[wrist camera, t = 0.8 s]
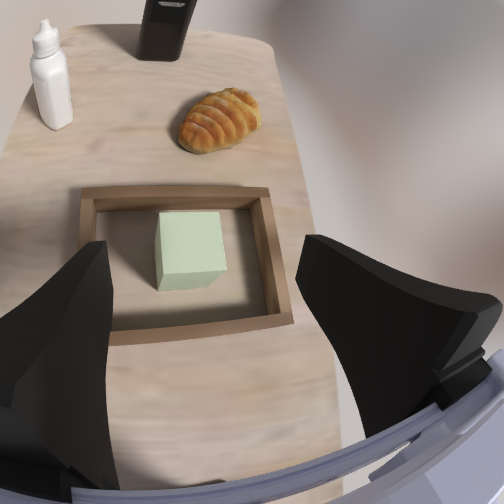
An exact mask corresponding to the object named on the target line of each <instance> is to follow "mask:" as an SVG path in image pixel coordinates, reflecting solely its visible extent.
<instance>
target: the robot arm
mask: <svg viewBox="0 0 504 504" xmlns="http://www.w3.org/2000/svg"><path fill="white" fill-rule="evenodd" d="M295 280H296V282H297V285H298V287H299V290H300V292H301V294H302V297H303V299H304V301H305V302H306V304H307V306H308V307H309V309H310V311H311V312H312V314H313V316H314V317H315V319H316V320H317V322H318V323H319V325H320V327H321V328H322V330H323V331H324V333H325V335H326V336H327V338H328V339H329V341H330V343H331V345H332V346H333V348H334V350H335V352H336V354H337V356H338V358H339V361H340V363H341V365H342V367H343V369H344V372H345V374H346V377H347V379H348V382H349V384H350V386H351V389H352V392H353V395H354V397H355V401H356V404H357V407H358V409H359V413H360V417H361V421H362V424H363V428H364V432H365V437H366V439H365V440H362V441H360V442H358V443H356V444H354V445H351V446H348V447H346V448H344V449H341V450H338V451H336V452H333V453H331V454H328V455H325V456H322V457H320V458H317V459H314V460H311V461H308V462H305V463H302V464H298V465H295V466H292V467H288V468H285V469H281V470H278V471H274V472H270V473H266V474H262V475H258V476H254V477H249V478H245V479H240V480H235V481H229V482H223V483H218V484H211V485H204V486H196V487H188V488H177V489H164V490H138V491H123V490H120V487H119V483H118V479H117V474H116V470H115V465H114V460H113V454H112V448H111V442H110V435H109V426H108V416H107V404H106V383H105V378H106V363H107V354H108V345H109V337H110V330H111V323H112V316H113V291H114V290H113V285H112V279H111V272H110V266H109V259H108V251H107V243H106V241H89V242H88V243H87V244H86V245H85V246H83V247H82V248H81V249H80V250H79V251H78V252H77V253H76V254H75V255H74V256H73V257H72V258H71V259H70V260H69V261H68V262H67V263H66V264H65V265H64V266H63V267H62V268H61V269H60V270H59V271H58V272H57V273H56V274H55V275H53V276H52V277H51V278H50V279H49V280H48V281H47V282H46V283H45V284H44V285H43V286H42V287H41V288H39V289H38V290H37V291H36V292H35V293H34V294H32V295H31V296H30V297H29V298H27V299H26V300H25V301H24V302H22V303H21V304H20V305H18V306H17V307H16V308H14V309H13V310H11V311H10V312H8V313H7V314H6V315H4V316H3V317H1V318H0V504H262V503H266V502H270V501H274V500H277V499H281V498H284V497H288V496H291V495H294V494H297V493H300V492H303V491H306V490H309V489H312V488H315V487H317V486H320V485H323V484H325V483H328V482H330V481H333V480H335V479H338V478H340V477H343V476H345V475H347V474H349V473H352V472H354V471H356V470H358V469H360V468H363V467H364V466H367V465H369V464H370V463H373V462H375V461H377V460H379V459H380V458H383V457H385V456H386V455H388V454H390V453H392V452H394V451H395V450H397V449H399V448H401V447H402V446H404V445H406V444H408V443H409V442H410V444H409V445H408V446H407V447H405V448H404V449H402V450H401V451H400V452H399V453H398V454H397V455H396V456H395V457H393V458H392V459H391V460H389V461H388V462H387V463H385V464H384V465H383V466H381V467H380V468H378V469H377V470H376V471H374V472H372V473H371V474H369V476H368V477H369V479H370V481H371V482H370V483H368V484H367V485H365V486H363V487H361V488H358V489H356V490H354V491H352V492H350V493H348V494H346V495H344V496H341V497H339V498H337V499H334V500H332V501H330V502H327V503H325V504H500V503H499V501H498V500H497V496H498V495H499V494H500V493H501V492H502V490H503V489H504V350H503V349H499V350H498V351H497V352H496V353H494V354H493V355H492V356H491V357H490V358H489V359H488V360H487V361H485V360H484V359H483V358H482V356H483V355H484V354H485V350H484V349H483V348H482V347H481V345H482V344H483V343H484V341H485V340H486V338H487V337H488V335H489V334H490V332H491V331H492V329H493V328H494V326H495V324H496V323H497V321H498V319H499V317H500V315H501V312H502V307H503V306H502V303H501V302H500V301H499V300H498V299H497V298H496V297H494V296H492V295H490V294H485V293H478V292H471V291H464V290H459V289H454V288H450V287H446V286H443V285H438V284H435V283H432V282H429V281H426V280H422V279H419V278H416V277H414V276H411V275H409V274H406V273H403V272H401V271H398V270H396V269H394V268H391V267H389V266H387V265H385V264H383V263H380V262H378V261H376V260H374V259H372V258H370V257H368V256H366V255H364V254H362V253H360V252H358V251H356V250H354V249H352V248H350V247H348V246H346V245H344V244H342V243H340V242H337V241H335V240H333V239H331V238H328V237H326V236H323V235H306V236H305V240H304V245H303V249H302V253H301V257H300V261H299V265H298V270H297V274H296V278H295Z"/></svg>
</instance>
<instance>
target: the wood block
mask: <svg viewBox="0 0 504 504" xmlns="http://www.w3.org/2000/svg"><path fill="white" fill-rule="evenodd" d="M154 250H155V264H156V276H157V287H158V291H172V290H186V289H198V288H207V287H208V286H209V285H210V284H211V283H213V282H214V281H215V280H216V279H217V278H218V277H219V276H221V275H222V274H223V273H224V272H225V271H226V270H227V267H226V260H225V253H224V246H223V239H222V231H221V224H220V216H219V212H173V213H159V218H158V223H157V229H156V235H155V241H154Z"/></svg>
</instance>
